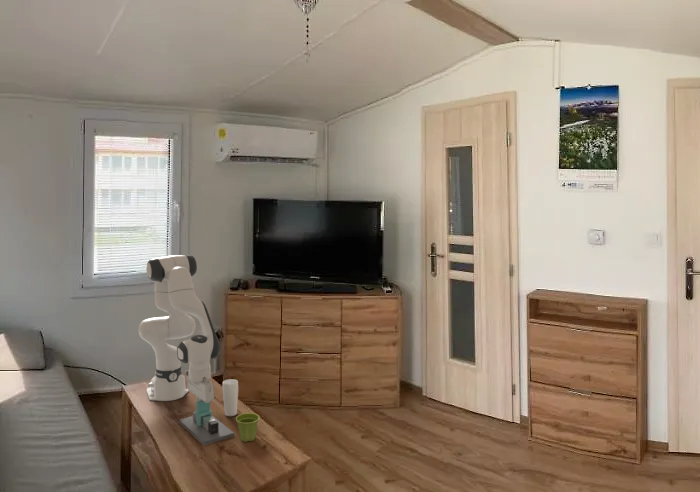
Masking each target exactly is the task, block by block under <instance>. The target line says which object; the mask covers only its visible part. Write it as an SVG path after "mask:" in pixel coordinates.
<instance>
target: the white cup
mask: <svg viewBox="0 0 700 492" xmlns="http://www.w3.org/2000/svg"><path fill="white" fill-rule="evenodd" d="M222 397H223V406H224V415H225V416H226V417H233V416H234V417H235V416H236V415H238V401H239V399H238V398H239V381H238V380H237V379H234V378H233V379H232V378H229V379H225V380H223V381H222Z"/></svg>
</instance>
